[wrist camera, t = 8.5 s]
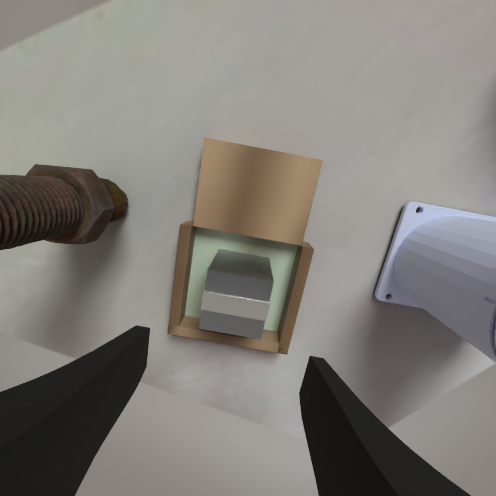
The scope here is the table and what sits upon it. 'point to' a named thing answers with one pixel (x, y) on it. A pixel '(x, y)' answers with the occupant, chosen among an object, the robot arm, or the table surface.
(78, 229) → the bolt
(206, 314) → the metal block
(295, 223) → the open brown wooden box
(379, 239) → the table surface
